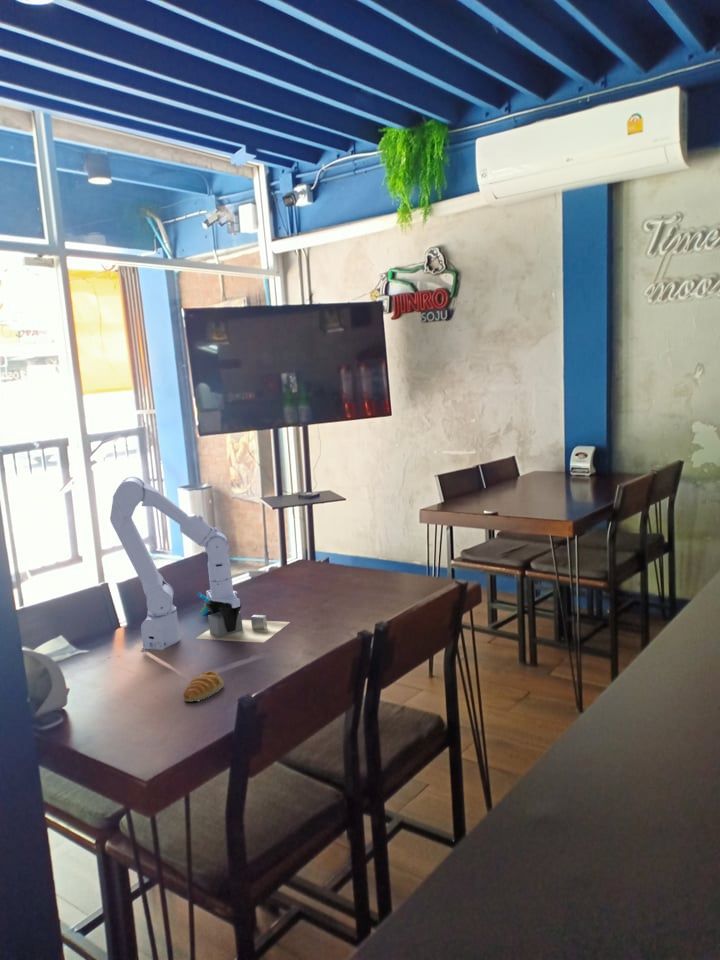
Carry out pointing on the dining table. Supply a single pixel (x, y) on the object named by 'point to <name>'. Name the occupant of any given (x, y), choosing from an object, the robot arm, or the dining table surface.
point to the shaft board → (249, 632)
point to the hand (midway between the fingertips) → (226, 628)
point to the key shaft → (259, 622)
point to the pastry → (203, 686)
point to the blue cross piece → (206, 609)
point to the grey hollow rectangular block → (222, 625)
